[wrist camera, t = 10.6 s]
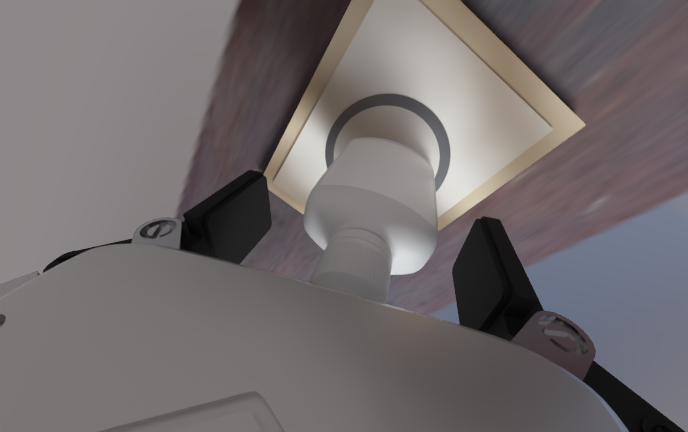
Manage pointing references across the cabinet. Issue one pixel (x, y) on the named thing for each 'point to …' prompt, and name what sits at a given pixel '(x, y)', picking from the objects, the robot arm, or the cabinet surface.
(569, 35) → the cabinet surface
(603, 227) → the cabinet surface
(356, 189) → the eye dropper bottle
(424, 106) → the cream flat rectangular panel
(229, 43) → the cabinet surface
